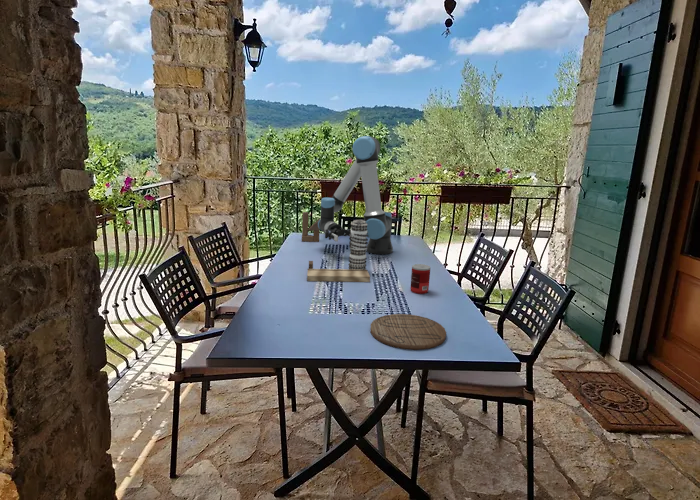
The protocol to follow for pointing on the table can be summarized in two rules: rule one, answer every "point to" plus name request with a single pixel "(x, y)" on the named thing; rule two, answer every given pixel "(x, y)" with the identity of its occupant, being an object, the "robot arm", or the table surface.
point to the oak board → (338, 275)
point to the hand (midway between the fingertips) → (349, 238)
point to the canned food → (420, 278)
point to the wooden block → (305, 229)
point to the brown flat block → (310, 264)
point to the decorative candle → (358, 245)
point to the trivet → (408, 331)
